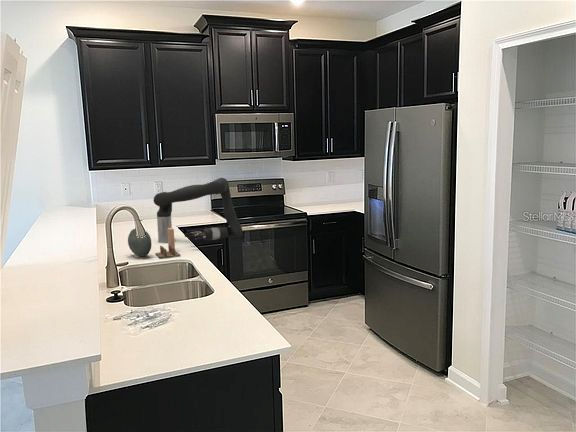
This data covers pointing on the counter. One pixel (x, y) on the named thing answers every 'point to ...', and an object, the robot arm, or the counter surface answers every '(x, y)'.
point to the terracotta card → (171, 237)
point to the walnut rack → (168, 254)
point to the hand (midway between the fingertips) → (186, 236)
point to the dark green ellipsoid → (139, 244)
